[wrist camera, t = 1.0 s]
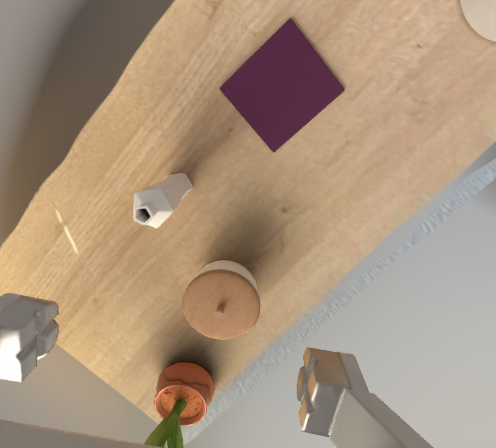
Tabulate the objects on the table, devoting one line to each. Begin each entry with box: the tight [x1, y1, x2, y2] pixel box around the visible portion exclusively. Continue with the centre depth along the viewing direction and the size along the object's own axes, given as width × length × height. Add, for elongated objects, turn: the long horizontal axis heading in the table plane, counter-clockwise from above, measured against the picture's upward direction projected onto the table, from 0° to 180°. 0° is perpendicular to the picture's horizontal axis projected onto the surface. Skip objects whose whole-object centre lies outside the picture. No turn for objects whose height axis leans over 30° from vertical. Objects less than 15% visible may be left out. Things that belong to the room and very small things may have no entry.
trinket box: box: [183, 260, 260, 340], centre depth 48 cm, size 11×11×9 cm
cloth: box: [220, 18, 344, 152], centre depth 43 cm, size 12×11×1 cm
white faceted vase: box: [133, 173, 193, 228], centre depth 41 cm, size 5×4×15 cm
